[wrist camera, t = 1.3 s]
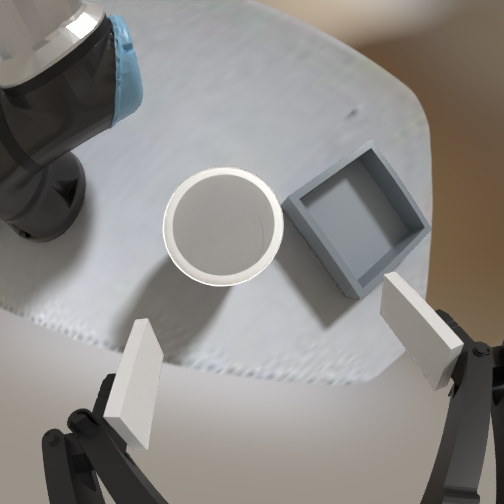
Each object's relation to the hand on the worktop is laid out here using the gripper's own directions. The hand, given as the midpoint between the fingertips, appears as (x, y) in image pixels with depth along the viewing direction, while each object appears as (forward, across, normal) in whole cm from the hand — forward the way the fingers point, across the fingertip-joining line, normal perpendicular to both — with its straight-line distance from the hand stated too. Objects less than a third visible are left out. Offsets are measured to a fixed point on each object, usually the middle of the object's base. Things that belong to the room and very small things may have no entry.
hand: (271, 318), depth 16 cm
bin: (+26, +16, -6) cm, 31 cm away
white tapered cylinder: (+25, -4, -5) cm, 25 cm away
